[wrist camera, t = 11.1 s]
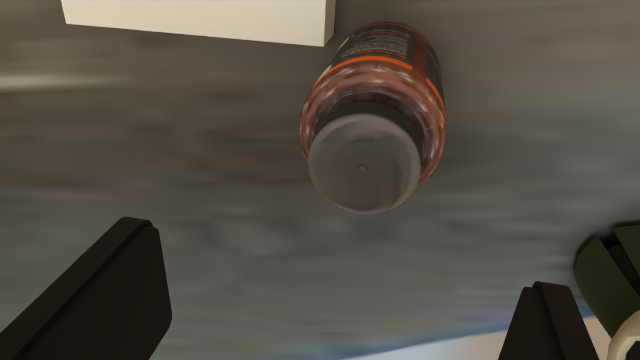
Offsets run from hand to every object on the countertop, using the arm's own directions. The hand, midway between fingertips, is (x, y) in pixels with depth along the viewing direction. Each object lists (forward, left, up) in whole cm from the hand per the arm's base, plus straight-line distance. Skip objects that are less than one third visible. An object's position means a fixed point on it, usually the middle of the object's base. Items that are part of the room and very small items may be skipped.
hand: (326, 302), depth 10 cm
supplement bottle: (0, 0, -18) cm, 18 cm away
